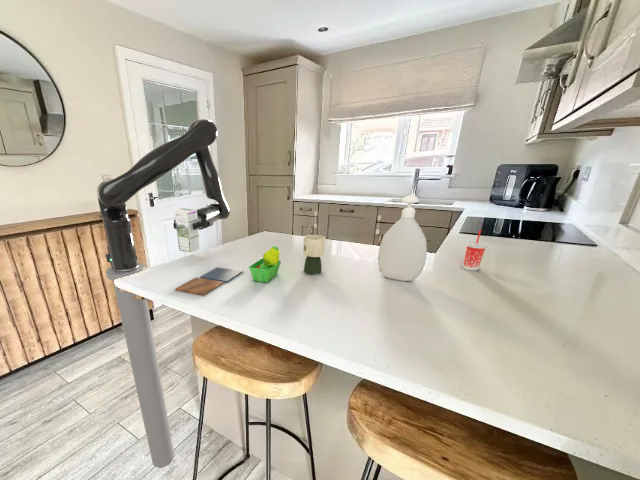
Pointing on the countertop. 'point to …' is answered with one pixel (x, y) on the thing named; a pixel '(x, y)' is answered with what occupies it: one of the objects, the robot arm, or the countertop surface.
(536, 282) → the countertop surface
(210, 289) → the wooden coaster
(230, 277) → the slate pad
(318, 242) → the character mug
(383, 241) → the soap bottle
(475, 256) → the beverage cup
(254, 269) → the fruit basket
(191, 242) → the syrup box
